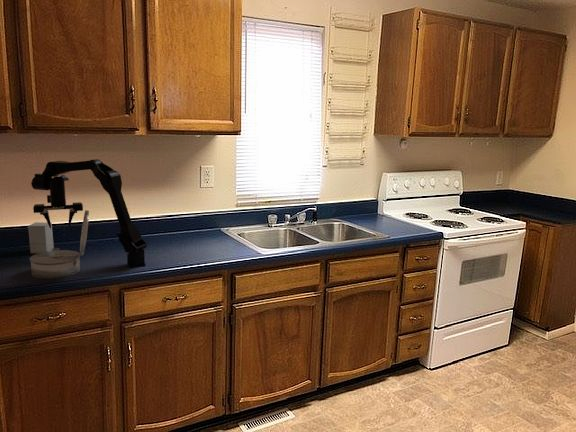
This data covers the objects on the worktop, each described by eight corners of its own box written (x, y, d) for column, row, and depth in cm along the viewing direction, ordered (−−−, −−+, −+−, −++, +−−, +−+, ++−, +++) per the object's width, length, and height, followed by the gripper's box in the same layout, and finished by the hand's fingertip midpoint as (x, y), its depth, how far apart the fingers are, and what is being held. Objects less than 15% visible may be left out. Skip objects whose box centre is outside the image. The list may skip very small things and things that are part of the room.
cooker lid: (79, 248, 196) (81, 248, 197) (80, 260, 181) (83, 260, 181) (84, 206, 194) (87, 207, 195) (86, 214, 179) (89, 215, 179)
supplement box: (54, 249, 217) (52, 222, 214) (46, 253, 209) (44, 225, 207) (37, 249, 216) (35, 221, 214) (29, 253, 209) (27, 225, 207)
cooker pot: (79, 258, 204) (78, 244, 203) (81, 275, 182) (80, 260, 181) (33, 262, 197) (32, 247, 196) (29, 281, 175) (28, 264, 173)
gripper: (81, 187, 211) (82, 222, 214) (33, 189, 203) (36, 224, 206) (82, 191, 201) (84, 227, 204) (32, 193, 193) (34, 230, 196)
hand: (59, 227), depth 203 cm, fingers open, 7 cm apart
